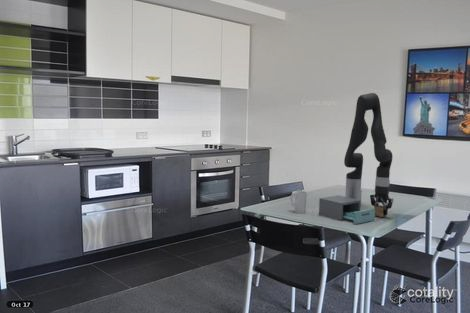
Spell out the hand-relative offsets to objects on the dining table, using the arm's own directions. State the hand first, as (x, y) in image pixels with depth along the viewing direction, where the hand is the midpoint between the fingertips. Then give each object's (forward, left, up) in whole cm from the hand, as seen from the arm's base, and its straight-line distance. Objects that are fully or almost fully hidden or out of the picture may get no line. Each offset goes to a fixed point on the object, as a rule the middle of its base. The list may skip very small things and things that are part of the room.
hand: (380, 214), depth 239 cm
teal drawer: (+19, -4, -1) cm, 19 cm away
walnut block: (0, 0, 0) cm, 0 cm away
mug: (+32, -34, -2) cm, 46 cm away
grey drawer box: (+18, -14, -1) cm, 23 cm away
